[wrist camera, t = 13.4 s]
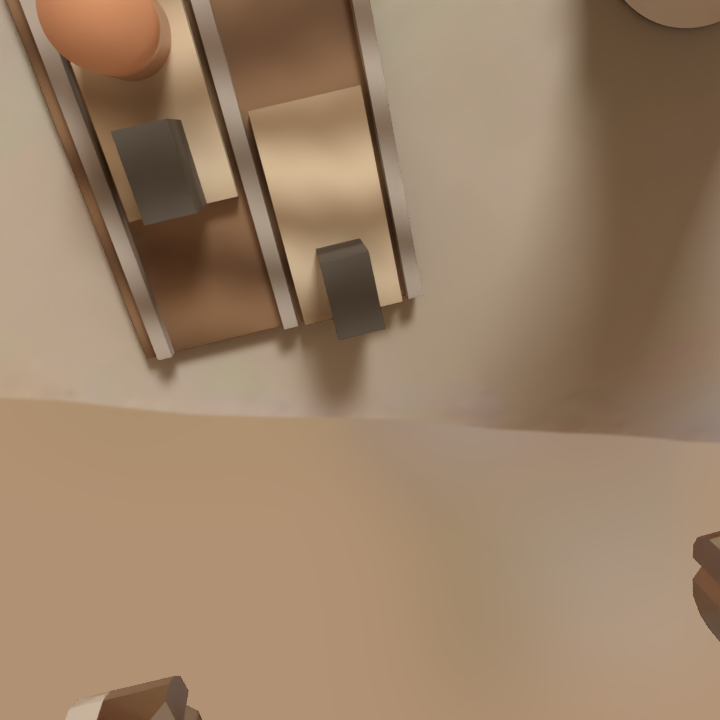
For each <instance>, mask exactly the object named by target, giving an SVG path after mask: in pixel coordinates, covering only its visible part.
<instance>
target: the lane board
mask: <svg viewBox="0 0 720 720" xmlns="http://www.w3.org/2000/svg"><path fill="white" fill-rule="evenodd" d="M6 1H7V3H8V6H9V8H10V11H11V13H12V16H13V18H14V21H15V24H16V26H17V29H18V31H19V34H20V36H21V39H22V41H23V44H24V46H25V49H26V52H27V54H28V57H29V59H30V62H31V64H32V67H33V69H34V72H35V75H36V77H37V80H38V82H39V85H40V87H41V90H42V92H43V95H44V97H45V100H46V103H47V105H48V108H49V110H50V113H51V115H52V118H53V120H54V123H55V125H56V128H57V131H58V133H59V136H60V138H61V141H62V143H63V146H64V148H65V151H66V154H67V156H68V159H69V161H70V164H71V166H72V169H73V171H74V174H75V176H76V179H77V182H78V184H79V187H80V189H81V192H82V194H83V197H84V199H85V202H86V204H87V207H88V210H89V212H90V215H91V217H92V220H93V222H94V225H95V227H96V230H97V233H98V235H99V238H100V240H101V243H102V245H103V248H104V250H105V253H106V255H107V258H108V261H109V263H110V266H111V268H112V271H113V273H114V276H115V278H116V281H117V283H118V286H119V289H120V291H121V294H122V296H123V299H124V301H125V304H126V306H127V309H128V312H129V314H130V317H131V319H132V322H133V324H134V327H135V329H136V332H137V334H138V337H139V340H140V342H141V345H142V347H143V350H144V352H145V355H146V357H147V359H148V358H152V357H157V359H158V360H162V359H166V358H170V357H172V356H173V354H174V352H177V351H181V350H185V349H189V348H193V347H197V346H201V345H205V344H209V343H213V342H217V341H221V340H226V339H230V338H234V337H238V336H242V335H246V334H250V333H254V332H258V331H262V330H266V329H270V328H275V327H279V326H283V327H284V330H285V329H289V328H293V327H297V326H298V322H299V321H303V320H304V319H303V315H302V311H301V308H300V304H299V300H298V296H297V293H296V289H295V285H294V281H293V278H292V274H291V270H290V267H289V263H288V259H287V255H286V252H285V248H284V244H283V240H282V237H281V233H280V229H279V226H278V222H277V218H276V214H275V211H274V207H273V203H272V199H271V196H270V192H269V188H268V185H267V181H266V177H265V173H264V170H263V166H262V162H261V158H260V155H259V151H258V147H257V144H256V140H255V136H254V132H253V129H252V125H251V121H250V117H249V114H248V111H252V110H256V109H260V108H264V107H269V106H273V105H277V104H282V103H286V102H290V101H295V100H299V99H303V98H307V97H312V96H316V95H320V94H325V93H329V92H333V91H337V90H342V89H346V88H350V87H355V86H359V85H361V90H362V95H363V100H364V106H365V111H366V116H367V121H368V126H369V131H370V136H371V142H372V147H373V152H374V157H375V162H376V167H377V172H378V178H379V183H380V188H381V193H382V198H383V203H384V209H385V214H386V219H387V224H388V229H389V234H390V239H391V245H392V250H393V255H394V260H395V265H396V270H397V275H398V281H399V286H400V291H401V296H405V295H406V296H407V297H408V298H409V299H411V298H415V297H419V296H423V295H422V289H421V284H420V278H419V272H418V267H417V261H416V256H415V250H414V245H413V239H412V233H411V228H410V222H409V217H408V211H407V206H406V200H405V194H404V189H403V183H402V178H401V172H400V166H399V161H398V155H397V150H396V144H395V139H394V133H393V127H392V122H391V116H390V111H389V105H388V100H387V94H386V88H385V83H384V77H383V72H382V66H381V60H380V55H379V49H378V44H377V38H376V33H375V27H374V21H373V16H372V10H371V5H370V0H183V2H184V6H185V9H186V13H187V16H188V20H189V23H190V27H191V30H192V34H193V37H194V40H195V44H196V47H197V51H198V54H199V58H200V61H201V65H202V68H203V72H204V75H205V79H206V82H207V85H208V89H209V92H210V96H211V99H212V103H213V106H214V110H215V113H216V117H217V120H218V124H219V127H220V130H221V134H222V137H223V141H224V144H225V148H226V151H227V155H228V158H229V162H230V165H231V169H232V172H233V175H234V179H235V182H236V186H237V189H238V193H239V195H238V196H237V197H233V198H229V199H224V200H220V201H216V202H212V203H207V204H206V205H205V206H204V207H203V208H202V209H201V210H200V211H199V212H198V213H195V214H191V215H187V216H183V217H178V218H174V219H170V220H166V221H162V222H157V223H153V224H149V225H145V226H144V223H143V221H142V219H140V220H136V221H132V222H129V220H128V217H127V215H126V212H125V209H124V207H123V204H122V201H121V198H120V196H119V193H118V190H117V188H116V185H115V182H114V179H113V177H112V174H111V171H110V169H109V166H108V163H107V160H106V158H105V155H104V152H103V150H102V147H101V144H100V141H99V139H98V136H97V133H96V131H95V128H94V125H93V122H92V120H91V117H90V114H89V112H88V109H87V106H86V103H85V101H84V98H83V95H82V93H81V90H80V87H79V84H78V82H77V79H76V76H75V74H74V71H73V68H72V65H71V63H70V61H69V60H67V59H66V58H65V57H63V56H62V55H61V54H60V53H59V52H58V51H57V50H56V49H55V48H54V47H53V46H52V44H51V43H50V41H49V40H48V39H47V37H46V35H45V33H44V32H43V29H42V27H41V25H40V22H39V19H38V15H37V10H36V1H35V0H6Z"/></svg>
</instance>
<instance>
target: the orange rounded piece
mask: <svg viewBox="0 0 720 720" xmlns="http://www.w3.org/2000/svg"><path fill="white" fill-rule="evenodd" d="M35 1H36V10H37V15H38V19H39V22H40V25H41V27H42V29H43V32H44V33H45V35H46V37H47V39H48V40H49V41H50V43H51V44H52V46H53V47H54V48H55V49H56V50H57V51H58V52H59V53H60V54H61V55H62V56H63V57H65V58H66V59H67V60H69V61H70V62H72V63H74V64H75V65H77V66H80V67H82V68H84V69H88V70H91V71H94V72H98V73H101V74H104V75H107V76H111V77H114V78H117V79H121V80H126V81H139V80H143V79H147V78H149V77H151V76H152V75H154V74H155V73H157V72H158V71H159V70H160V69H161V68H162V66H163V65H164V64H165V62H166V60H167V58H168V55H169V52H170V48H171V29H170V25H169V21H168V18H167V16H166V14H165V11H164V9H163V8H162V6H161V5H160V3H159V2H158V1H157V0H35Z"/></svg>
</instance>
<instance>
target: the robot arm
mask: <svg viewBox="0 0 720 720" xmlns="http://www.w3.org/2000/svg"><path fill="white" fill-rule="evenodd" d="M625 1H626V2H627V3H628V4H629V5H630V6H631V7H632V8H633V9H634V10H635V11H637V12H638V13H639V14H641V15H642V16H644V17H646V18H647V19H649V20H651V21H654V22H656V23H659V24H661V25H665V26H669V27H675V28H696V27H702V26H707V25H711V24H714V23H717V22H720V0H625ZM693 558H694V559H695V560H696V561H697V562H698V563H699V564H700V565H701V566H702V567H701V568H700V570H699V571H698V573H697V574H696V575H695V577H694V578H693V596H694V599H695V602H696V605H697V607H698V610H699V613H700V615H701V617H702V618H703V620H704V621H705V623H706V625H707V626H708V628H709V629H710V630H711V631H712V633H713V634H714V635H715V636H716V638H717V639H718V640H719V641H720V531H719V532H715V533H712V534H708V535H704V536H701V537H698V538H697V539H696V541H695V543H694V545H693ZM187 697H188V689H187V687H186V685H185V684H184V682H183V680H182V678H181V677H180V676H173V677H168V678H164V679H160V680H156V681H151V682H147V683H143V684H139V685H135V686H130V687H126V688H121V689H117V690H113V691H110V692H107V693H103V694H99V695H95V696H90V697H86V698H82V699H78V700H77V701H76V702H75V703H74V704H73V705H72V707H71V708H70V709H69V711H68V713H67V715H66V718H65V720H202V718H201V716H200V714H199V712H198V711H197V710H195V709H193V708H191V707H189V706H187V705H186V703H187Z"/></svg>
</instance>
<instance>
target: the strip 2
mask: <svg viewBox="0 0 720 720" xmlns="http://www.w3.org/2000/svg"><path fill="white" fill-rule="evenodd" d="M248 114H249V117H250V121H251V125H252V129H253V132H254V136H255V140H256V144H257V147H258V151H259V155H260V158H261V162H262V166H263V170H264V173H265V177H266V181H267V185H268V188H269V192H270V196H271V199H272V203H273V207H274V211H275V214H276V218H277V222H278V226H279V229H280V233H281V237H282V240H283V244H284V248H285V252H286V255H287V259H288V263H289V267H290V270H291V274H292V278H293V281H294V285H295V289H296V293H297V296H298V300H299V304H300V308H301V311H302V315H303V319H304V322H305V325H309V324H313V323H317V322H321V321H325V320H329V319H333V320H334V324H335V328H336V332H337V335H338V339H339V340H341V339H346V338H350V337H354V336H358V335H362V334H366V333H370V332H374V331H378V330H382V329H385V326H384V321H383V316H382V311H381V307H382V306H386V305H390V304H394V303H398V302H403V301H402V296H401V291H400V286H399V281H398V275H397V270H396V265H395V260H394V255H393V250H392V245H391V239H390V234H389V229H388V224H387V219H386V214H385V209H384V203H383V198H382V193H381V188H380V183H379V178H378V172H377V167H376V162H375V157H374V152H373V147H372V142H371V136H370V131H369V126H368V121H367V116H366V111H365V106H364V100H363V95H362V90H361V85H359V86H355V87H350V88H346V89H342V90H337V91H333V92H329V93H325V94H320V95H316V96H312V97H307V98H303V99H299V100H295V101H290V102H286V103H282V104H277V105H273V106H269V107H264V108H260V109H256V110H252V111H248Z"/></svg>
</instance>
